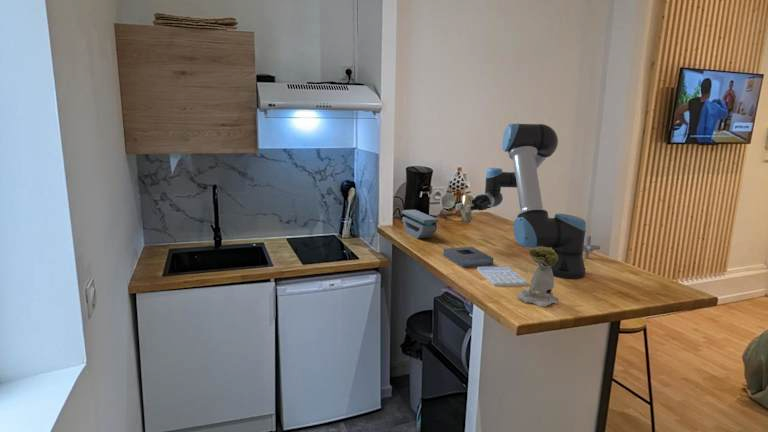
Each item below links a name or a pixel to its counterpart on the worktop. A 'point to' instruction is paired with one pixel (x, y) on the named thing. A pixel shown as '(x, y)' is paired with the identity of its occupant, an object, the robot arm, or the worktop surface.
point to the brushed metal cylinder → (465, 215)
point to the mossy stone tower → (541, 278)
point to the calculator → (502, 276)
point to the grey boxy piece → (419, 224)
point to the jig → (468, 257)
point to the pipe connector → (589, 247)
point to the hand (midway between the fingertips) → (461, 208)
